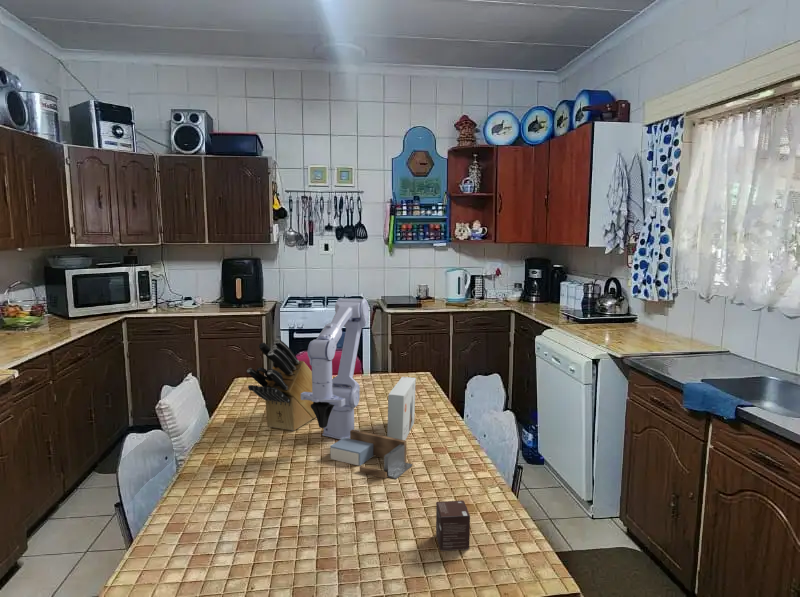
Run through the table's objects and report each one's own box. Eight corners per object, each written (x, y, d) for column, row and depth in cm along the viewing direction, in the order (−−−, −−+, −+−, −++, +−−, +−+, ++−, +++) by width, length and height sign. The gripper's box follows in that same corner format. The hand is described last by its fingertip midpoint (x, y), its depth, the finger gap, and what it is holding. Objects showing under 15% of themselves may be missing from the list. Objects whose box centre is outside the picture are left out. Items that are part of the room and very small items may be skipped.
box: (435, 534, 107) (435, 501, 106) (463, 532, 107) (464, 499, 106) (440, 551, 101) (440, 516, 100) (470, 550, 101) (470, 515, 100)
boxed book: (329, 460, 144) (329, 446, 143) (344, 450, 150) (344, 437, 150) (359, 467, 139) (359, 453, 139) (373, 457, 146) (373, 443, 145)
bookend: (384, 476, 133) (384, 456, 132) (400, 462, 141) (400, 443, 140) (396, 479, 131) (396, 458, 131) (412, 465, 139) (412, 446, 139)
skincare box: (404, 447, 152) (404, 395, 150) (386, 445, 153) (386, 394, 151) (416, 422, 172) (416, 376, 171) (400, 421, 173) (400, 375, 172)
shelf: (329, 464, 140) (328, 443, 139) (352, 449, 150) (352, 429, 150) (385, 478, 132) (385, 456, 131) (406, 461, 142) (406, 440, 141)
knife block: (246, 437, 160) (242, 341, 156) (309, 404, 192) (307, 323, 188) (275, 443, 155) (272, 343, 152) (335, 408, 187) (333, 325, 184)
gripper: (293, 381, 145) (294, 426, 147) (334, 387, 138) (335, 435, 140) (308, 375, 152) (310, 419, 153) (349, 381, 145) (350, 427, 146)
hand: (323, 426), depth 147 cm, fingers closed
